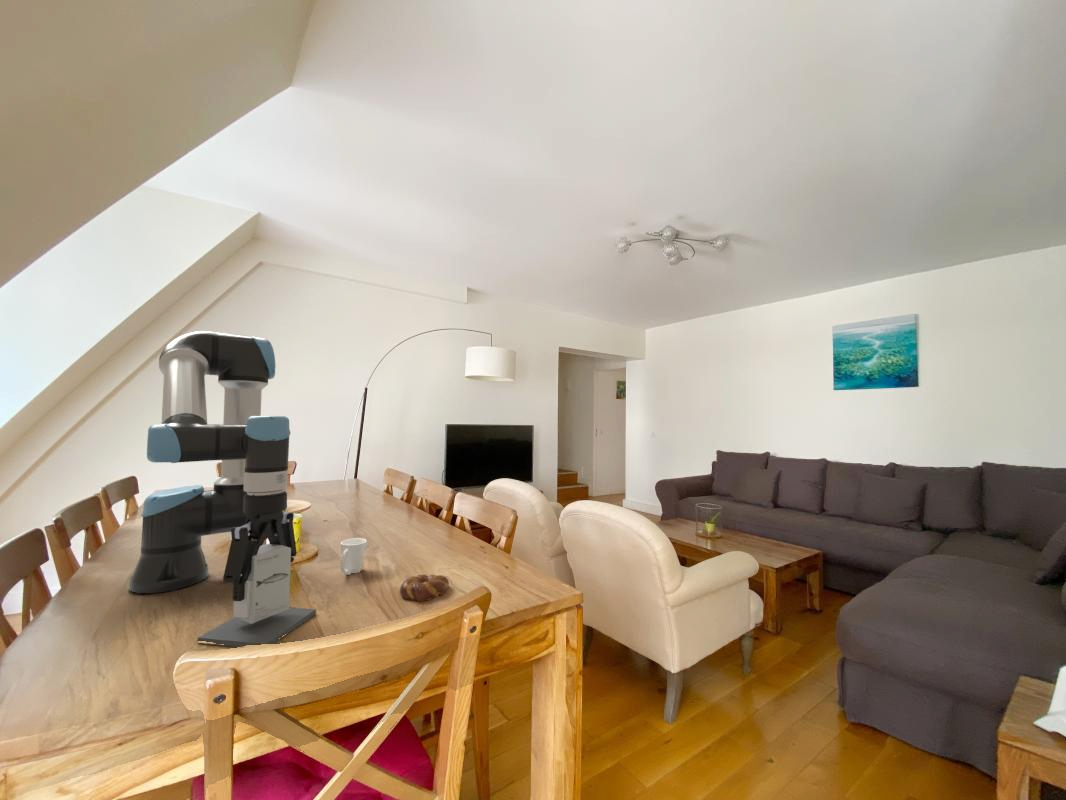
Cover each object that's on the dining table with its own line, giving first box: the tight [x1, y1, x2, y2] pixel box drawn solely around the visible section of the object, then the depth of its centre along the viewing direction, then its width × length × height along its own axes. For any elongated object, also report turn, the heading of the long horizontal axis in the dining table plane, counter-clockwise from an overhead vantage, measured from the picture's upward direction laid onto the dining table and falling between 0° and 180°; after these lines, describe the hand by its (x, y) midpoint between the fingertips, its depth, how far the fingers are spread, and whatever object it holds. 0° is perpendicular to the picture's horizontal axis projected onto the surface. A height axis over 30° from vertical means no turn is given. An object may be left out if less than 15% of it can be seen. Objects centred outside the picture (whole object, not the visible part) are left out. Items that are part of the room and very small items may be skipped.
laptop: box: [197, 606, 317, 648], centre depth 84 cm, size 14×14×1 cm
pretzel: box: [399, 574, 450, 602], centre depth 102 cm, size 12×11×4 cm
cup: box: [339, 537, 367, 576], centre depth 114 cm, size 7×10×8 cm
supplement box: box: [232, 543, 292, 624], centre depth 84 cm, size 7×7×13 cm
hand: (261, 604), depth 84 cm, fingers closed on supplement box, 9 cm apart
